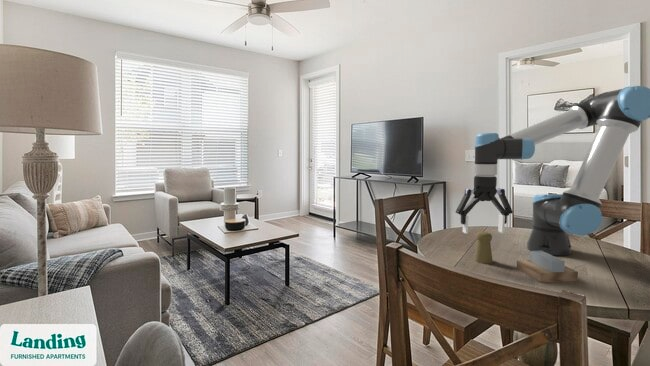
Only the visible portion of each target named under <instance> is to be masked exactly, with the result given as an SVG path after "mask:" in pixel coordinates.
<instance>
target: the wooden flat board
mask: <svg viewBox="0 0 650 366" xmlns="http://www.w3.org/2000/svg"><path fill="white" fill-rule="evenodd" d="M516 270H518V271H520V272H521V273H523V274H525V275H526V276H528V277H530V278H531V279H533V278H534V280H535V281H537V282H538V283H555V282H556V283H557V282H559V281H562V282H577V281H578V279H579V271H577V270H575V269H572V268H570V267H569V266H567V265H564V272H550V271H548V270H546V269H544V268H542V267H540V266H539V265H537V264H535V263H533V262H531V261H530V259H527V260H525V259H523V260H521V259H520V260H516ZM559 283H560V282H559Z"/></svg>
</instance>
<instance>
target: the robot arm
mask: <svg viewBox="0 0 650 366" xmlns="http://www.w3.org/2000/svg"><path fill="white" fill-rule="evenodd" d="M648 119H650V88H649V87H648V86H645V85H635V86H632V85H631V86H630V85H629V86H626V87H625V86H624V87H623V88H618V89H615V90H611V91H607V92H606V91H605V92H602V93H600V94H599V93H598V94H597V95H594V96H593V97H590V98H588V99H586V100H584V101H581V102H580V103H578V104H575V105H573V106H571V107H570V108H569V109H568V111H565V112H562V113H560V114H557V115H555V116H552V117H550V118H548V119H546V120H542V121H540V122H537V123H535V124H533V125H530V126H528V127H526V128H523V129H521V130H518V131H515V132H512V133H511V134H508V135H506V136H503V137H501V138H500V137H499V133H497V132H485V133H478V134H477V135H475V140H474V141H475V142H474V170H473V171H474V172H473V174H474V175H475V176H474V177H473V189H470V188H465V189H464V194H463V196H462V198H461V200H460V202H459V204H458V206H457V208H456V210H455V213H456V214H458V215H460V224H461V225H462V233H464V234H466V235H467V234H469V215H468V214H469V213H470V212H471V210H473V208H474V207H475V205H477V204H478V203H480V202H491V203H492V204H493V206H495V208H496V209H497V210H498V211H499V213H500V214H498V224H497V226H498V227H497V232H499V233H501V234H505V225H506V224H507V222H508V216H509V215H510V214H513V213H514V212H513V209H512V206H511V204H510V202H509V200H508V198H507V195H506V190H505V188H501V187H500V188H497V185H498V184H497V178H498V177H497V175H498V161H499V160H521V161H522V160H529V159H531V158H532V157H533V156H534V154H535V151H536V145H539V144H541V143H544V142H547V141H549V140H552V139H554V138H556V137H558V136H561V135H564V134H567V133H569V132H571V131H574V130H577V129H578V130H583V129H586V128H589V127H593V126H598V130H597V131H596V134H595V136H594V138H593V139H592V142H591V144H590V147H589V148H588V151H587V153H586V155H585V157H584V159H583V161H582V163H581V165H580V167H579V170H578V172H577V174H576V176H575V178H574V181H573V182H572V184H571V187H570V188H569V189H567V190H564V191H563V192H562V193H561V194H560V193H559V194H557V193H556V194H552V193H551V194H549V193H548V194H547V193H545V194H544V193H543V194H535V195H534V197H533V200H532V228H531V229H532V230H531V232H530V235H529V237H528V240H527V242H526V249H528V250H529V251H544V252H546V253H548V254H550V255H552V256H569V255H571V254H572V251H573V250H572V249H573V247H572V244H571V240H570V239H569V236H568V234H569V235H574V236H580V237H581V236H587V235H591V234H593V233H594V232H596V231H597V230H598V229H599V228H600V227H601V226H602V224H603V219H604V217H603V215H602V211H601V207H602V204H603V203H602V201H601V200H600V197H601V194H602V193H603V190H604V188H605V186H606V184H607V181H608V180H609V178H610V175H611V173H612V171H613V169H614V167H615V165H616V163H617V161H618V159H619V156H620V155H621V152H622V150H623V148H624V147H625V144H626V142H627V140H628V139H629V136H630V134H632V133H635V132H637V131H638V130H639V129H640V126H641V124H642V122H643V121H646V120H648ZM472 195H473V197H472V198H471V196H472ZM496 195H498V198H499V199H500V202H501V203H500V202H499V200H498V198H497V197H496ZM470 198H471V200H470ZM469 200H470V201H469Z"/></svg>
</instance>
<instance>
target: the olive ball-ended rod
mask: <svg viewBox="0 0 650 366" xmlns="http://www.w3.org/2000/svg"><path fill="white" fill-rule="evenodd" d="M492 239H493V235H492V233H491V232H487V231H478V232H477V233H476V240H477V246H476V251H475V257H474V261H475V262H477V263H479V264H484V265H485V264H486V265H487V264H488V265H489V264H493V262H494V261H493V254H492V247H491V246H492V245H491V241H492Z"/></svg>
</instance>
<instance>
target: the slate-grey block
mask: <svg viewBox="0 0 650 366" xmlns="http://www.w3.org/2000/svg"><path fill="white" fill-rule="evenodd" d="M529 260H530V261H531V262H533V263H535V264H537V265H539V266H540V267H542V268H544V269H546V270H548V271H550V272H564V266H565V263H566V262H565V260H563V259H561V258H559V257H557V256H555V255H550V254H548V253H546V252H544V251H531V250H529Z"/></svg>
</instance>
